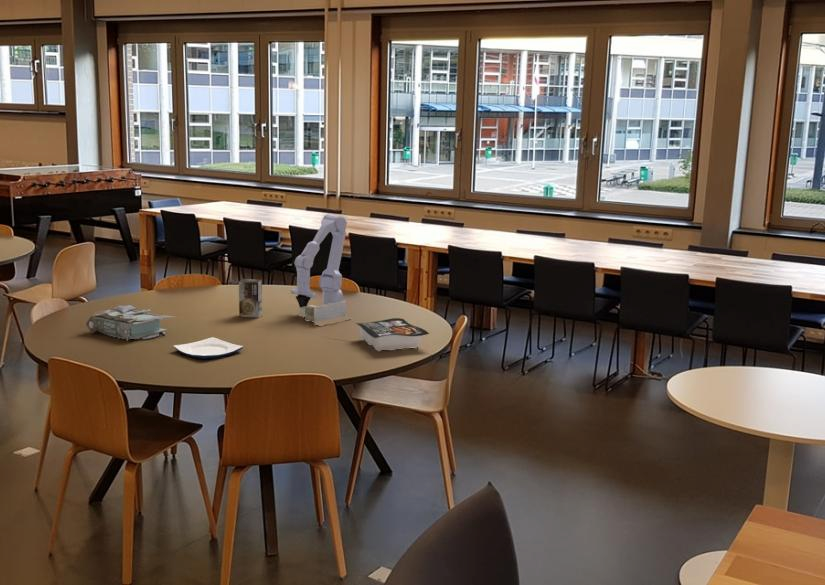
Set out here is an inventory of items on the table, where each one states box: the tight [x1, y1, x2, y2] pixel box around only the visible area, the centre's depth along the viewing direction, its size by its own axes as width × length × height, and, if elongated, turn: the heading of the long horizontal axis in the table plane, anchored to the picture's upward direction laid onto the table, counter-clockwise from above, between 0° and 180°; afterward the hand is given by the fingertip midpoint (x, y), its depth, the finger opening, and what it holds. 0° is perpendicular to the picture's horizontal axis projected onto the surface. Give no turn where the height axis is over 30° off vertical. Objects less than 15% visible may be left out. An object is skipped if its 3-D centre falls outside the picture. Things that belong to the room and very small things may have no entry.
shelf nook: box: [304, 303, 331, 321], centre depth 372 cm, size 14×8×6 cm, turn 141°
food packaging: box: [355, 317, 430, 352], centre depth 336 cm, size 25×8×23 cm
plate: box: [172, 336, 244, 360], centre depth 316 cm, size 20×20×3 cm
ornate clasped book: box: [85, 304, 176, 342], centre depth 338 cm, size 23×10×30 cm
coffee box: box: [238, 278, 263, 318], centre depth 373 cm, size 9×6×16 cm
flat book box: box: [298, 304, 317, 316], centre depth 376 cm, size 8×12×4 cm, turn 51°
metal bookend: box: [313, 300, 347, 324], centre depth 368 cm, size 19×4×8 cm, turn 141°
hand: (303, 311), depth 381 cm, fingers closed
